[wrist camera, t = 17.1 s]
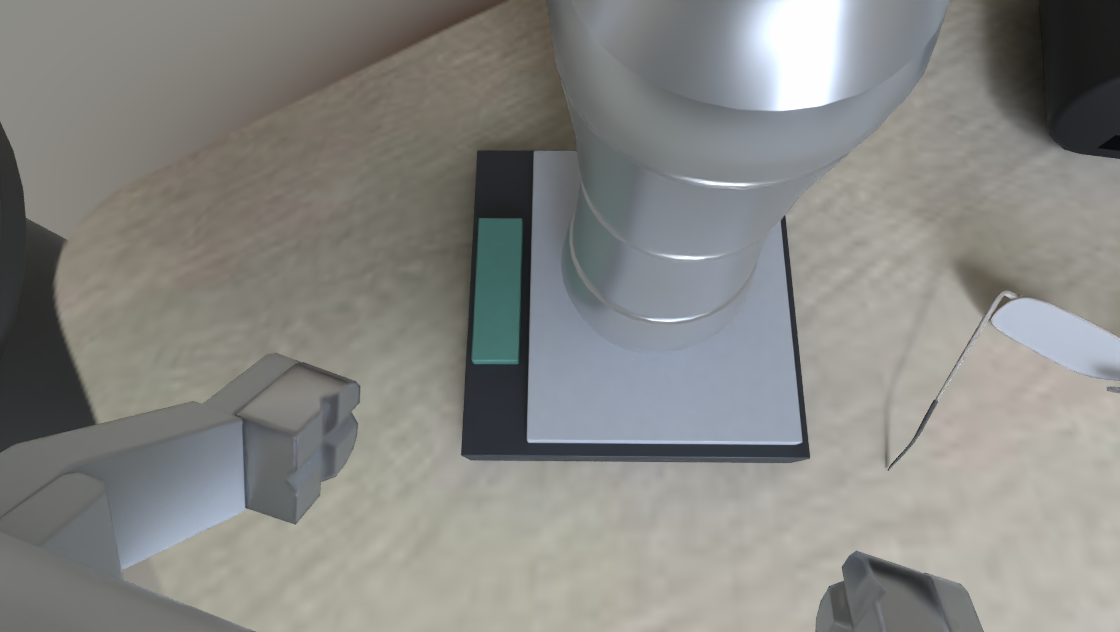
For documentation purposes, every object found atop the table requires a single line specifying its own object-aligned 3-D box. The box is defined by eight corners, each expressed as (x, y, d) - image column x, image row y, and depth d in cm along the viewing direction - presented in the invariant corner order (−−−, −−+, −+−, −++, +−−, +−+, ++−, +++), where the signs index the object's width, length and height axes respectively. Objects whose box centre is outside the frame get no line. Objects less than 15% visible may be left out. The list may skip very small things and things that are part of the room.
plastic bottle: (744, 364, 24) (1431, -224, 5) (563, 370, 24) (532, -184, 5) (725, 207, 26) (1164, -660, 7) (558, 214, 26) (519, -628, 7)
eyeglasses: (1293, 493, 25) (1420, 498, 21) (1212, 677, 24) (1331, 719, 20) (960, 306, 28) (1019, 280, 24) (870, 464, 26) (917, 464, 22)
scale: (469, 460, 26) (457, 454, 23) (483, 175, 30) (474, 139, 27) (791, 463, 26) (818, 457, 23) (764, 175, 30) (784, 139, 27)
